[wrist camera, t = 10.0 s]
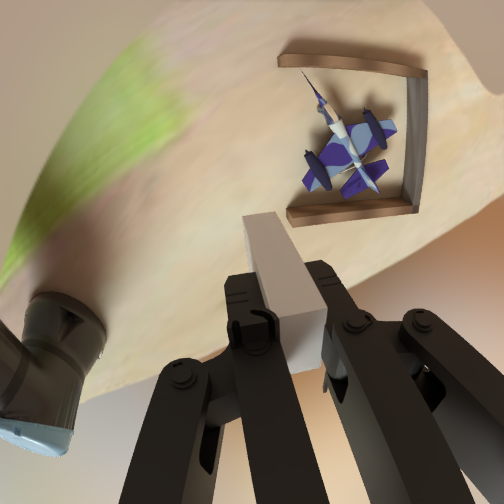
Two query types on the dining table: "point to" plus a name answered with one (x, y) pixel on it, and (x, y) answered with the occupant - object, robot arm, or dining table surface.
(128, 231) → the dining table surface
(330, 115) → the toy airplane
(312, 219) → the frame
